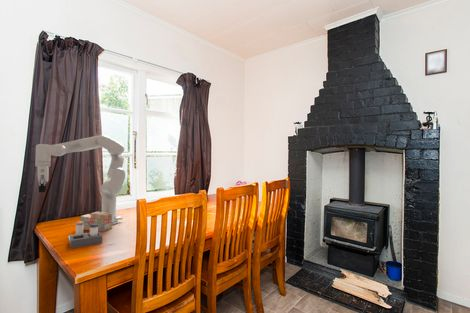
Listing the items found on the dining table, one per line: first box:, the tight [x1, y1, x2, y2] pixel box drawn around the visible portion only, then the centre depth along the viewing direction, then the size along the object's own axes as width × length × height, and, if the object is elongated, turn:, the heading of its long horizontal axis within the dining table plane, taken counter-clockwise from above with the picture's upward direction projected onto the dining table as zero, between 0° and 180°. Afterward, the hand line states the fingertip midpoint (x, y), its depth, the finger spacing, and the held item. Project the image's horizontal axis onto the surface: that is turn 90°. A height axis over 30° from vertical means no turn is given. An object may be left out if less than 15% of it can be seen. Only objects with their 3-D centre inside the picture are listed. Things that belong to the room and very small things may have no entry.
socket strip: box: [69, 231, 103, 249], centre depth 142 cm, size 15×9×6 cm, turn 127°
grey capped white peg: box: [89, 223, 99, 237], centre depth 144 cm, size 4×4×10 cm
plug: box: [75, 220, 85, 235], centre depth 151 cm, size 4×4×10 cm
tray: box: [67, 232, 88, 242], centre depth 151 cm, size 11×9×2 cm
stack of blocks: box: [80, 211, 113, 232], centre depth 169 cm, size 21×6×12 cm, turn 71°
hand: (42, 191), depth 156 cm, fingers open, 9 cm apart
